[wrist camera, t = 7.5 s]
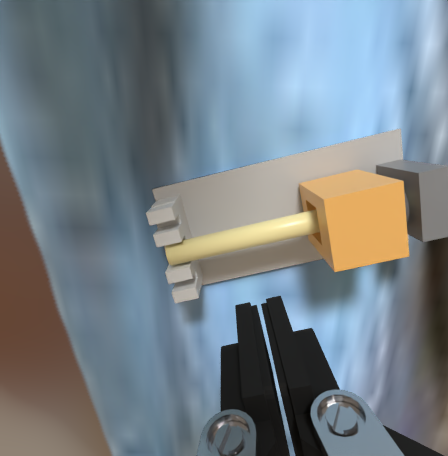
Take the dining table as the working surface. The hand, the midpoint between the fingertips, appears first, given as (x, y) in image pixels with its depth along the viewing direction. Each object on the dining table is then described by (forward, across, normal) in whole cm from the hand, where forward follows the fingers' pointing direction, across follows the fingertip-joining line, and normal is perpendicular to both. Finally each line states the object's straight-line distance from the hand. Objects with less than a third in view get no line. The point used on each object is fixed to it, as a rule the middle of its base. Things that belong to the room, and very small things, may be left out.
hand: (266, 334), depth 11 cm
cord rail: (+17, -4, +1) cm, 18 cm away
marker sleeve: (+17, -8, +1) cm, 19 cm away
